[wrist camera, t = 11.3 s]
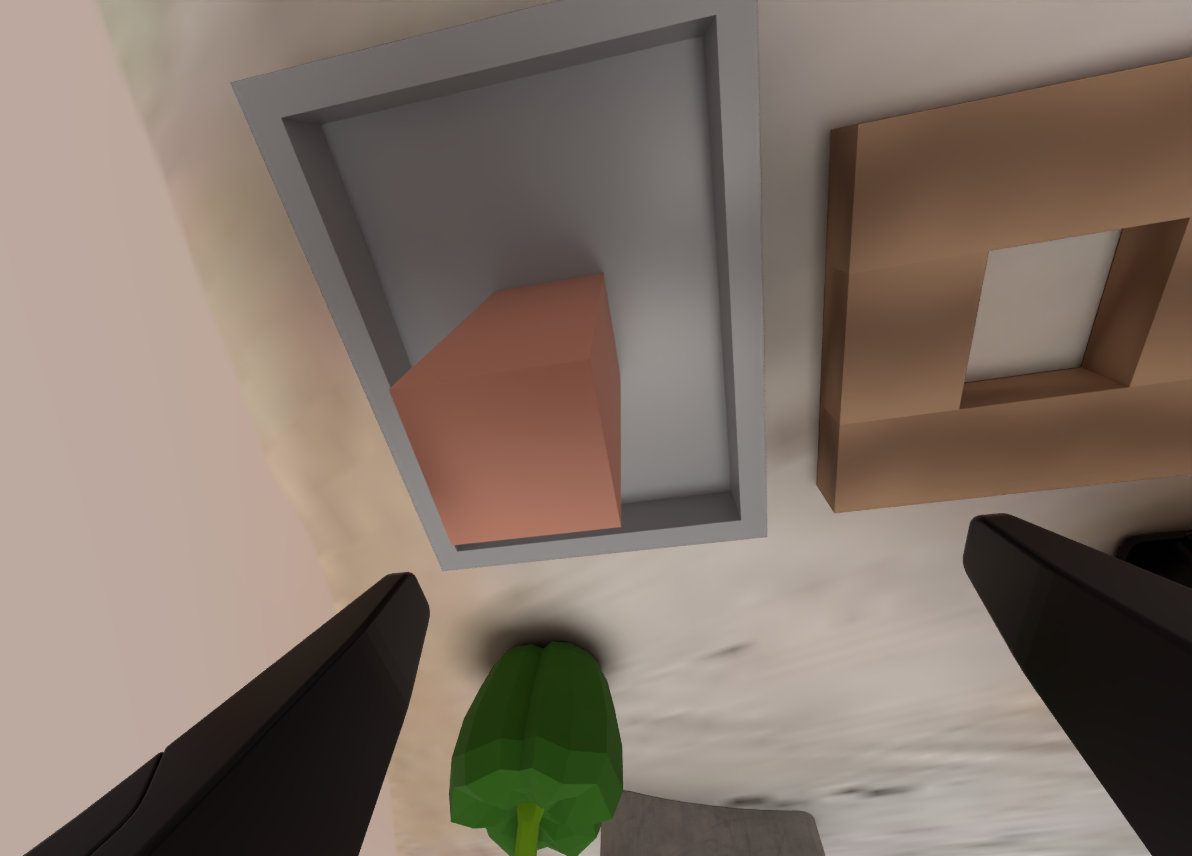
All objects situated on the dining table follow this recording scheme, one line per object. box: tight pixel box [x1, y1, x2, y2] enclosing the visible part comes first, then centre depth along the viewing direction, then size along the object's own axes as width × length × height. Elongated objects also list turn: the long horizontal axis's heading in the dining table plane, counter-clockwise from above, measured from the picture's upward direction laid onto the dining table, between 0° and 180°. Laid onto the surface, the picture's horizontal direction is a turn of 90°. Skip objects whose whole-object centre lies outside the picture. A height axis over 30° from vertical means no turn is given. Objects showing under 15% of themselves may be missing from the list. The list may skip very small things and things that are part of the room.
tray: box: [231, 0, 767, 571], centre depth 18 cm, size 18×14×3 cm
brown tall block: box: [389, 273, 621, 545], centre depth 14 cm, size 4×4×9 cm
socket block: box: [817, 57, 1192, 513], centre depth 17 cm, size 14×14×2 cm
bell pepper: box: [449, 641, 623, 856], centre depth 24 cm, size 8×8×10 cm
